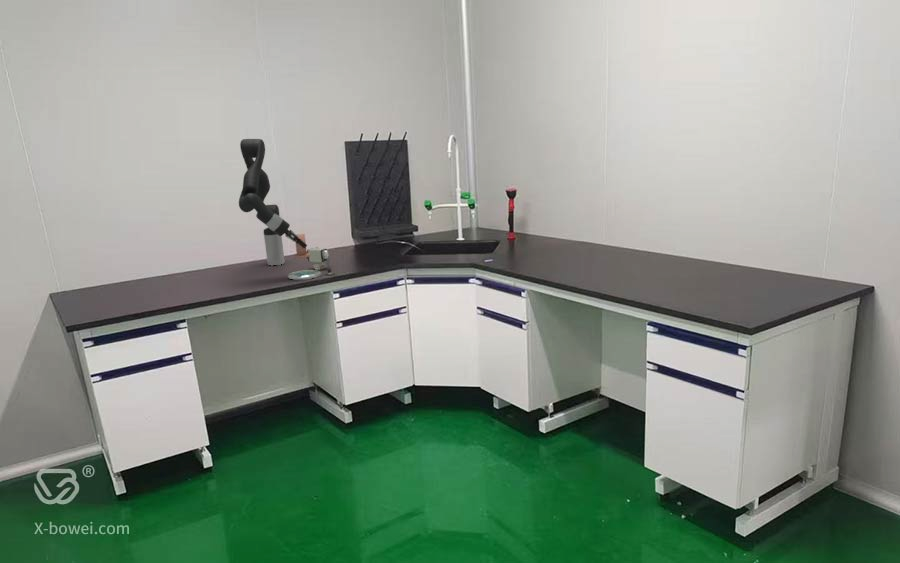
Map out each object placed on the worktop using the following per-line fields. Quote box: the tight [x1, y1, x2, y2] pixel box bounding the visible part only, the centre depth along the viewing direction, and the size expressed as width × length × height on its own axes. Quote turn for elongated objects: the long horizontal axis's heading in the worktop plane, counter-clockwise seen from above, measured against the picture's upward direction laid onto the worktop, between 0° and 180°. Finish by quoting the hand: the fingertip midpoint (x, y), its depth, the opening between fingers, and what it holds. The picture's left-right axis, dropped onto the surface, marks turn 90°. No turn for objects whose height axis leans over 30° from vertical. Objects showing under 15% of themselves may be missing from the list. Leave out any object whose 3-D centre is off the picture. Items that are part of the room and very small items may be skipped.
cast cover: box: [293, 233, 310, 259], centre depth 286 cm, size 8×8×11 cm
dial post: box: [322, 249, 335, 276], centre depth 291 cm, size 4×4×13 cm
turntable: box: [287, 269, 322, 281], centre depth 290 cm, size 16×16×2 cm
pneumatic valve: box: [305, 246, 328, 271], centre depth 303 cm, size 6×12×12 cm, turn 69°
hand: (304, 245), depth 287 cm, fingers closed on cast cover, 4 cm apart
